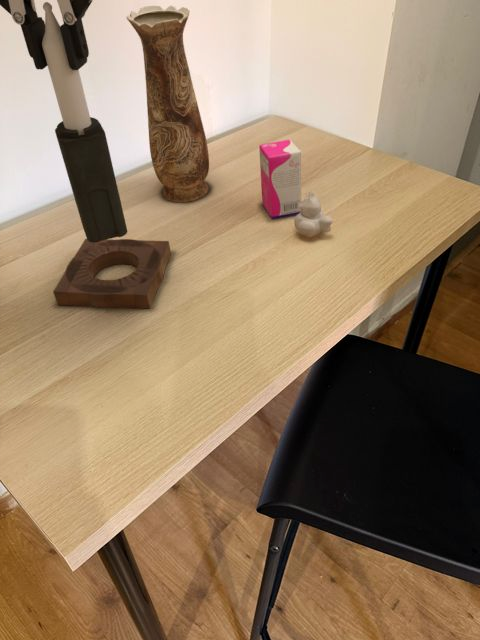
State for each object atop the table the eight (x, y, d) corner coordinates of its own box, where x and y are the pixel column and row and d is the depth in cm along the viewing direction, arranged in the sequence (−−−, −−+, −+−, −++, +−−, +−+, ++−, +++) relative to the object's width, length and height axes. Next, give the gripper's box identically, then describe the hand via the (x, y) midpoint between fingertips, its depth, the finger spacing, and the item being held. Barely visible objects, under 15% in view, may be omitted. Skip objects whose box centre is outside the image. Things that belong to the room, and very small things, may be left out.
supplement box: (290, 199, 99) (291, 138, 91) (301, 214, 95) (302, 152, 87) (261, 204, 98) (258, 143, 90) (270, 220, 94) (269, 157, 86)
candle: (88, 244, 66) (20, 10, 48) (82, 224, 69) (16, -1, 52) (129, 235, 67) (77, 4, 50) (120, 216, 71) (69, -6, 53)
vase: (217, 180, 105) (200, 3, 84) (204, 207, 98) (181, 20, 77) (167, 177, 107) (138, 3, 86) (150, 203, 99) (113, 20, 78)
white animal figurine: (301, 222, 93) (301, 179, 87) (336, 230, 91) (340, 186, 85) (288, 238, 89) (288, 194, 84) (325, 246, 87) (328, 202, 82)
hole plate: (55, 305, 78) (50, 292, 77) (88, 250, 89) (84, 237, 87) (151, 309, 77) (147, 296, 75) (172, 253, 87) (170, 240, 86)
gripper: (111, -190, 44) (149, 55, 57) (-73, -184, 45) (4, 53, 58) (78, -193, 38) (128, 79, 51) (-130, -186, 40) (-31, 76, 53)
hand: (62, 63), depth 55 cm, fingers closed on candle, 3 cm apart
